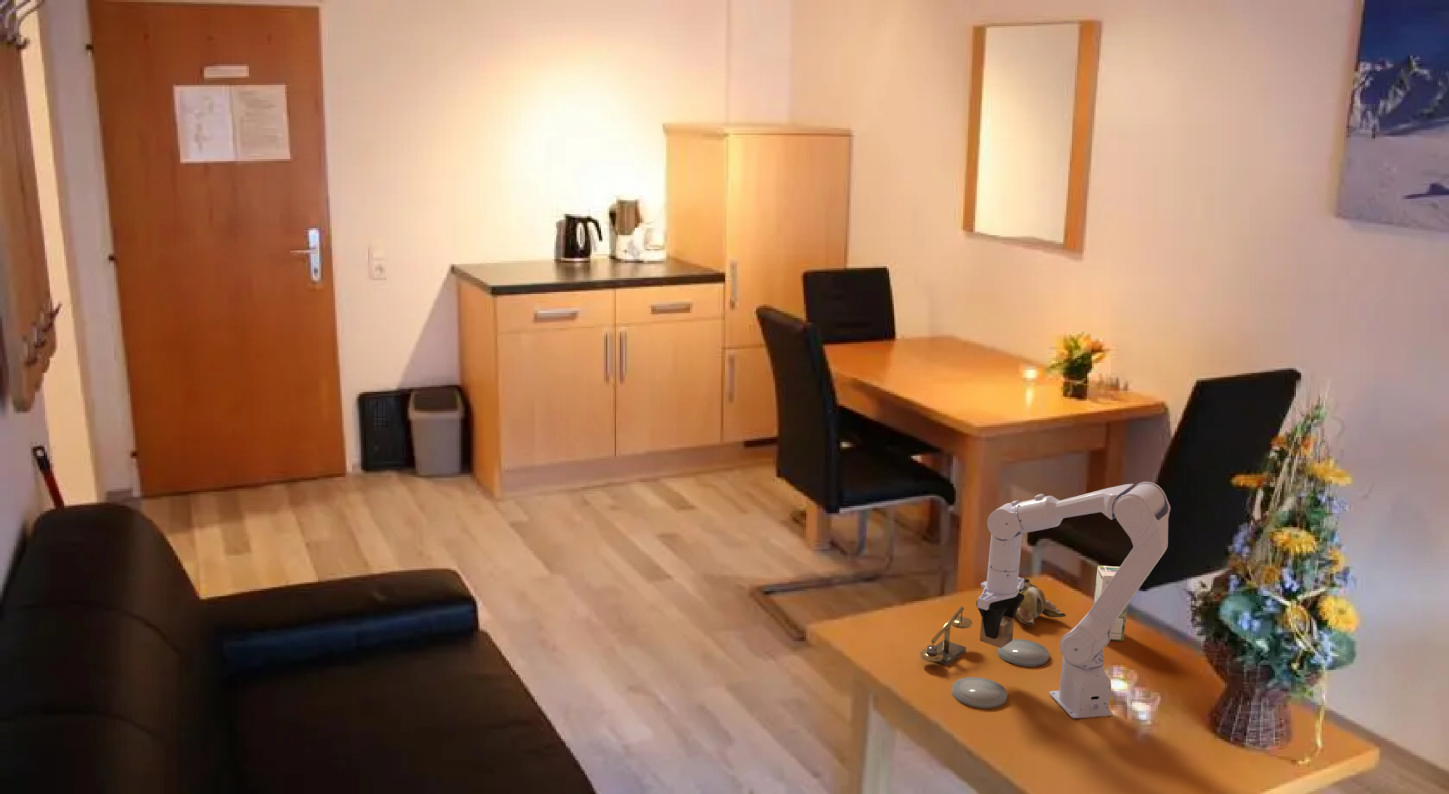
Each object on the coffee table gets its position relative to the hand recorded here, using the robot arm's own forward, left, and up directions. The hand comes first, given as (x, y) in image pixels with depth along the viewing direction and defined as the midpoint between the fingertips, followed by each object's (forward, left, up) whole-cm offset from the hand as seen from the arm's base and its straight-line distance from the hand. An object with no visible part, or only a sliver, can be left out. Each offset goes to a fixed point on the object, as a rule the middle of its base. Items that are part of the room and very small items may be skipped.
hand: (997, 633), depth 227 cm
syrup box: (+14, -31, -9) cm, 35 cm away
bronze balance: (+10, +6, -9) cm, 14 cm away
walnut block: (0, 0, -2) cm, 2 cm away
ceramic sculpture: (+25, -18, -9) cm, 32 cm away
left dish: (-7, +6, -9) cm, 13 cm away
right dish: (+7, -9, -9) cm, 15 cm away
